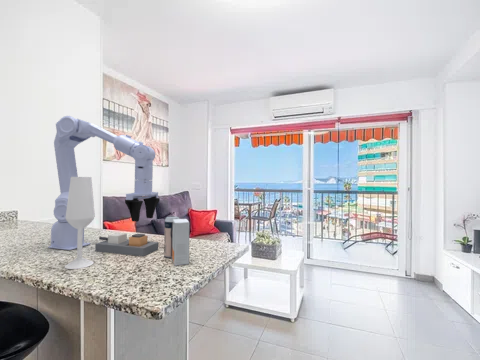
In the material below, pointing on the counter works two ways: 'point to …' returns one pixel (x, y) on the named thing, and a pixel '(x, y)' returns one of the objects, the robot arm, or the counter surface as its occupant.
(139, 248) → the socket strip
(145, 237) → the orange plug
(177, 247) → the skincare box
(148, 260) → the counter surface
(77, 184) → the champagne flute
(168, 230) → the beer can
